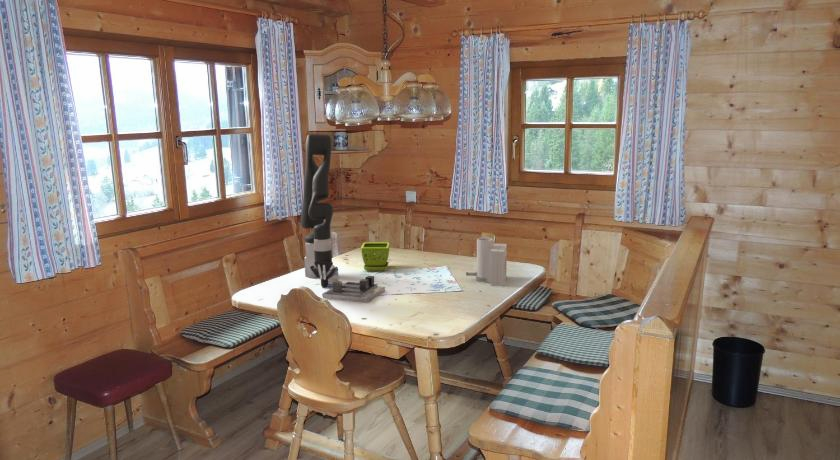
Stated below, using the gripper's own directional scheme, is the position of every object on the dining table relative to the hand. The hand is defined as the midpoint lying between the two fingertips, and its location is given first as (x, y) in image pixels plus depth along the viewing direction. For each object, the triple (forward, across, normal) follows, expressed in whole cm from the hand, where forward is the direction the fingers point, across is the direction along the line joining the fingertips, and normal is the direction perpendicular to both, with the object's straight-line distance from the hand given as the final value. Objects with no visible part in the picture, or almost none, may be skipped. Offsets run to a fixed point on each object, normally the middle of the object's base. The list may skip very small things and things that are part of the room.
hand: (324, 287), depth 274 cm
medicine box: (+4, +6, -15) cm, 17 cm away
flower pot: (+4, -2, -50) cm, 50 cm away
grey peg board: (+4, -11, -6) cm, 13 cm away
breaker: (+2, -6, 0) cm, 6 cm away
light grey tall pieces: (+4, -61, -45) cm, 76 cm away
